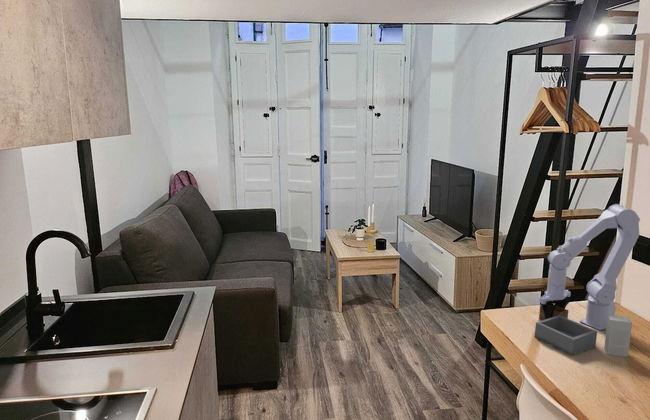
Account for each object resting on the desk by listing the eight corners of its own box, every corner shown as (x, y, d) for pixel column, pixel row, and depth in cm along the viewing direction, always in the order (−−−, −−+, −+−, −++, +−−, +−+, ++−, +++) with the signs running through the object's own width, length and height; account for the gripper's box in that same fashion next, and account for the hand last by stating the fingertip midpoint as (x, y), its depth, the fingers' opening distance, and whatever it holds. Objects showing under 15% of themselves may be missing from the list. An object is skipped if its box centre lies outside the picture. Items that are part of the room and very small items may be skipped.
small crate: (547, 316, 178) (549, 302, 177) (567, 324, 171) (568, 310, 170) (538, 318, 176) (540, 305, 175) (557, 327, 169) (559, 313, 168)
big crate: (557, 329, 167) (559, 315, 166) (595, 346, 155) (597, 331, 154) (534, 337, 162) (535, 322, 161) (571, 355, 150) (573, 339, 149)
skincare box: (624, 351, 152) (629, 316, 150) (628, 357, 148) (632, 322, 146) (603, 348, 154) (607, 314, 152) (606, 354, 150) (610, 319, 148)
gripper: (559, 276, 177) (556, 309, 180) (533, 283, 171) (530, 318, 173) (577, 282, 171) (573, 316, 174) (550, 289, 164) (547, 325, 167)
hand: (553, 318), depth 173 cm, fingers closed on small crate, 5 cm apart
